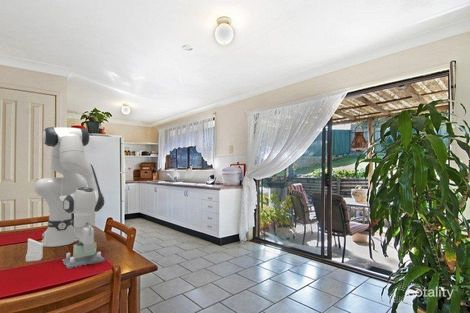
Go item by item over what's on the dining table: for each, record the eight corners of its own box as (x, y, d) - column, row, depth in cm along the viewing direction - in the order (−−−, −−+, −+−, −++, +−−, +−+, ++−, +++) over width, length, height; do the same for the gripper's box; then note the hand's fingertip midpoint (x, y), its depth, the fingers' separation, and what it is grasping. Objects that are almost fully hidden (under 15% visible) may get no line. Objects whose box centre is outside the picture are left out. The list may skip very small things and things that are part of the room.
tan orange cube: (84, 253, 137) (84, 243, 137) (94, 251, 140) (95, 241, 140) (86, 255, 133) (87, 245, 133) (97, 253, 136) (97, 243, 137)
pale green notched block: (73, 255, 123) (73, 243, 124) (91, 252, 129) (92, 240, 129) (75, 258, 120) (76, 245, 120) (94, 254, 125) (95, 242, 125)
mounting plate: (62, 261, 124) (62, 252, 124) (96, 254, 134) (97, 246, 134) (67, 268, 114) (68, 259, 114) (104, 261, 124) (104, 252, 125)
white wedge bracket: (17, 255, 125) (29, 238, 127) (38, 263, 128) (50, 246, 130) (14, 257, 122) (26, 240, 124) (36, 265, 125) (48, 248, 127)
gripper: (98, 223, 119) (97, 254, 119) (86, 218, 135) (85, 245, 134) (82, 225, 115) (81, 257, 114) (72, 219, 130) (71, 247, 129)
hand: (83, 251), depth 124 cm, fingers closed on pale green notched block, 5 cm apart
